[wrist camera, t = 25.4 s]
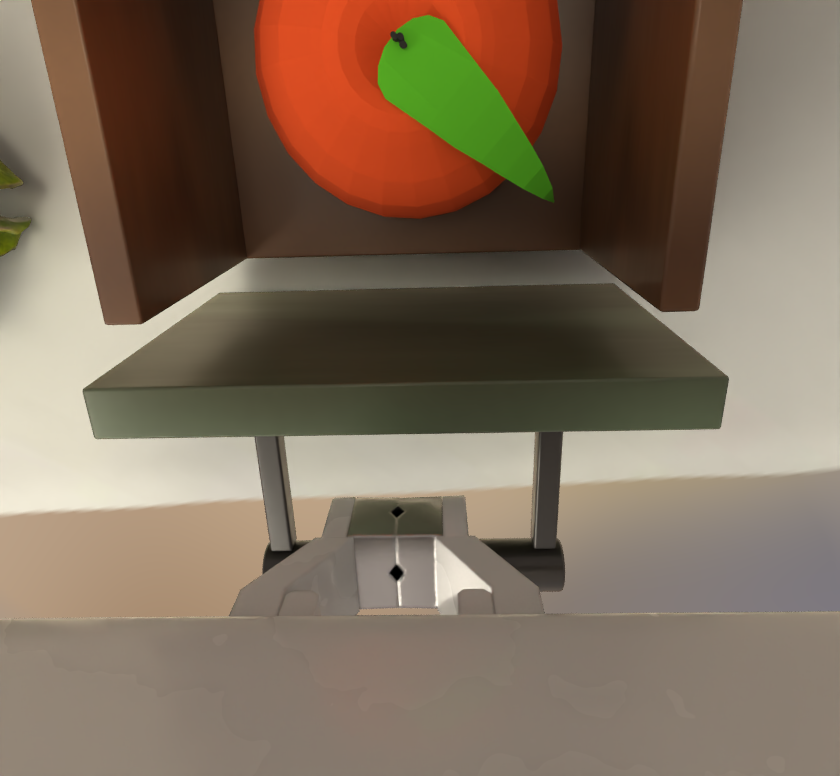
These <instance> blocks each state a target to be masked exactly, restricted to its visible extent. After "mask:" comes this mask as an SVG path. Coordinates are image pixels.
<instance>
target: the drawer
mask: <svg viewBox="0 0 840 776" xmlns="http://www.w3.org/2000/svg"><path fill="white" fill-rule="evenodd" d="M31 2H32V7H33V11H34V16H35V20H36V24H37V29H38V33H39V37H40V42H41V46H42V50H43V55H44V59H45V64H46V68H47V72H48V77H49V81H50V85H51V90H52V94H53V99H54V103H55V107H56V112H57V116H58V120H59V125H60V129H61V133H62V138H63V142H64V147H65V151H66V155H67V160H68V164H69V168H70V173H71V177H72V182H73V186H74V190H75V195H76V199H77V203H78V208H79V212H80V217H81V221H82V225H83V230H84V234H85V238H86V243H87V247H88V251H89V256H90V260H91V265H92V269H93V273H94V278H95V282H96V286H97V291H98V295H99V300H100V304H101V308H102V313H103V317H104V321H105V324H107V325H129V324H143V323H144V322H146V321H148V320H149V319H151V318H152V317H154V316H156V315H157V314H159V313H160V312H162V311H164V310H165V309H167V308H168V307H170V306H172V305H173V304H175V303H176V302H178V301H180V300H181V299H183V298H184V297H186V296H188V295H189V294H191V293H192V292H194V291H196V290H197V289H199V288H200V287H202V286H204V285H205V284H207V283H208V282H210V281H212V280H213V279H215V278H216V277H218V276H220V275H221V274H223V273H224V272H226V271H228V270H229V269H231V268H232V267H234V266H236V265H237V264H239V263H240V262H242V261H244V260H245V259H247V258H284V257H322V256H360V255H398V254H436V253H474V252H512V251H550V250H582V251H583V252H584V253H585V254H587V255H588V256H589V257H591V258H592V259H593V260H595V261H596V262H597V263H598V264H600V265H601V266H602V267H604V268H605V269H606V270H607V271H609V272H610V273H611V274H613V275H614V276H615V277H617V278H618V279H619V280H620V281H622V282H623V283H624V284H626V285H627V286H628V287H630V288H631V289H632V290H633V291H635V292H636V293H637V294H639V295H640V296H641V297H643V298H644V299H645V300H646V301H648V302H649V303H650V304H652V305H653V306H654V307H656V308H657V309H658V310H659V311H662V312H681V311H696V310H698V309H699V306H700V299H701V292H702V285H703V278H704V271H705V264H706V257H707V250H708V243H709V236H710V229H711V222H712V215H713V208H714V201H715V194H716V187H717V180H718V173H719V165H720V158H721V151H722V144H723V137H724V130H725V123H726V116H727V109H728V102H729V95H730V88H731V81H732V74H733V67H734V60H735V53H736V46H737V39H738V32H739V25H740V18H741V11H742V4H743V0H557V3H558V12H559V20H560V29H561V38H562V53H561V61H560V69H559V78H558V86H557V92H556V95H555V97H554V100H553V103H552V105H551V108H550V111H549V114H548V116H547V119H546V122H545V124H544V127H543V130H542V132H541V134H540V136H539V137H538V139H537V140H536V142H535V143H534V145H533V146H532V147H533V149H534V150H535V152H536V154H537V156H538V158H539V159H540V161H541V163H542V165H543V167H544V169H545V171H546V174H547V176H548V178H549V181H550V183H551V186H552V188H553V196H554V203H553V202H550V201H547V200H545V199H542V198H540V197H538V196H536V195H534V194H532V193H530V192H528V191H526V190H524V189H523V188H521V187H519V186H517V185H516V184H514V183H512V182H511V181H509V180H507V179H505V180H504V181H503V182H502V183H501V184H500V185H499V186H497V187H496V188H495V189H494V190H493V191H492V192H491V193H490V194H488V195H486V196H484V197H482V198H481V199H479V200H477V201H475V202H473V203H471V204H469V205H467V206H465V207H463V208H461V209H459V210H457V211H455V212H450V213H446V214H441V215H436V216H432V217H427V218H422V219H414V218H396V217H384V216H381V215H378V214H375V213H372V212H369V211H366V210H363V209H360V208H357V207H354V206H351V205H348V204H346V203H345V202H343V201H341V200H340V199H338V198H337V197H335V196H334V195H332V194H331V193H329V192H328V191H326V190H325V189H323V188H322V187H320V186H319V185H317V184H316V183H315V182H314V181H313V180H312V179H311V178H310V177H309V176H308V175H307V174H306V173H305V171H304V170H303V169H302V168H301V167H300V166H299V165H298V164H297V163H296V162H295V161H294V159H293V158H292V157H291V156H290V155H289V154H288V152H287V151H286V149H285V147H284V145H283V143H282V142H281V140H280V138H279V136H278V134H277V132H276V131H275V129H274V127H273V125H272V123H271V122H270V120H269V118H268V116H267V112H266V108H265V105H264V101H263V98H262V94H261V90H260V87H259V83H258V80H257V76H256V63H255V41H254V26H255V21H256V16H257V11H258V6H259V0H31ZM728 381H729V378H728V376H727V375H726V374H724V373H723V372H722V371H721V370H719V369H718V368H717V367H716V366H714V365H713V364H712V363H711V362H710V361H708V360H707V359H706V358H705V357H703V356H702V355H701V354H700V353H699V352H697V351H696V350H695V349H694V348H692V347H691V346H690V345H689V344H687V343H686V342H685V341H684V340H683V339H681V338H680V337H679V336H678V335H676V334H675V333H674V332H673V331H672V330H670V329H669V328H668V327H667V326H665V325H664V324H663V323H662V322H661V321H659V320H658V319H657V318H656V317H654V316H653V315H652V314H651V313H649V312H648V311H647V310H646V309H645V308H643V307H642V306H641V305H640V304H638V303H637V302H636V301H635V300H634V299H632V298H631V297H630V296H629V295H627V294H626V293H625V292H624V291H622V290H621V289H620V288H619V287H618V286H616V285H615V284H613V283H605V284H564V285H523V286H482V287H441V288H400V289H358V290H317V291H276V292H235V293H219V294H217V295H216V296H214V297H213V298H211V299H210V300H209V301H207V302H206V303H204V304H203V305H202V306H200V307H199V308H197V309H196V310H194V311H193V312H192V313H190V314H189V315H187V316H186V317H185V318H183V319H182V320H180V321H179V322H177V323H176V324H175V325H173V326H172V327H170V328H169V329H168V330H166V331H165V332H163V333H162V334H160V335H159V336H158V337H156V338H155V339H153V340H152V341H151V342H149V343H148V344H146V345H145V346H143V347H142V348H141V349H139V350H138V351H136V352H135V353H133V354H132V355H131V356H129V357H128V358H126V359H125V360H124V361H122V362H121V363H119V364H118V365H116V366H115V367H114V368H112V369H111V370H109V371H108V372H107V373H105V374H104V375H102V376H101V377H99V378H98V379H97V380H95V381H94V382H92V383H91V384H90V385H88V386H87V387H85V388H84V389H83V395H84V399H85V403H86V407H87V411H88V414H89V418H90V422H91V426H92V430H93V434H94V437H95V439H129V438H192V437H254V436H255V443H256V450H257V457H258V464H259V471H260V478H261V485H262V491H263V498H264V505H265V512H266V519H267V525H268V532H269V539H270V542H269V544H268V545H267V548H266V551H265V554H264V559H263V574H264V573H265V572H267V571H268V570H270V569H271V568H273V567H274V566H275V565H277V564H278V563H280V562H281V561H283V560H284V559H286V558H287V557H288V556H290V555H291V554H293V553H294V552H296V551H297V550H299V549H300V548H301V547H303V546H304V545H306V544H307V543H309V542H310V541H312V540H306V541H296V530H295V522H294V515H293V506H292V498H291V490H290V482H289V474H288V466H287V459H286V451H285V443H284V436H317V435H380V434H442V433H505V432H535V448H534V471H533V494H532V495H533V496H532V518H531V538H512V539H509V538H507V539H506V538H505V539H479V540H480V541H482V542H483V543H484V544H485V545H487V546H488V547H489V548H490V549H492V550H493V551H494V552H495V553H497V554H498V555H499V556H500V557H502V558H503V559H504V560H505V561H507V562H508V563H509V564H510V565H512V566H513V567H514V568H515V569H516V570H518V571H519V572H520V573H521V574H523V575H524V576H525V577H526V578H528V579H529V580H530V581H531V582H533V583H534V584H535V585H536V586H538V587H539V591H540V592H553V591H554V592H556V591H557V592H559V591H562V590H563V587H564V582H565V563H564V554H563V550H562V545H561V542H560V540H559V539H557V538H556V535H557V520H558V504H559V488H560V472H561V456H562V440H563V432H567V431H630V430H693V429H720V427H721V423H722V417H723V411H724V405H725V399H726V393H727V387H728Z"/></svg>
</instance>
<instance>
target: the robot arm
mask: <svg viewBox="0 0 840 776" xmlns="http://www.w3.org/2000/svg"><path fill="white" fill-rule="evenodd" d="M442 520H443V523H442ZM374 608H376V609H377V608H438V611H439V613H440V614H441V615H357V613H358V612H359V609H374ZM0 776H840V611H828V612H826V611H822V612H821V611H819V612H711V613H710V612H707V613H706V612H705V613H704V612H703V613H702V612H701V613H700V612H699V613H588V614H587V613H586V614H585V613H584V614H582V613H581V614H545V612H544V608H543V604H542V600H541V595H540V591H539V587H538V586H536V585H535V584H534V583H533V582H531V581H530V580H529V579H528V578H526V577H525V576H524V575H523V574H521V573H520V572H519V571H518V570H516V569H515V568H514V567H513V566H512V565H510V564H509V563H508V562H507V561H505V560H504V559H503V558H502V557H500V556H499V555H498V554H497V553H495V552H494V551H493V550H492V549H490V548H489V547H488V546H487V545H485V544H484V543H483V542H482V541H480V540H479V539H478V538H477V537H475V536H469V535H468V524H467V513H466V502H465V497H464V495H462V496H445V497H417V498H364V497H357V498H355V497H344V498H334V499H333V500H332V503H331V506H330V510H329V513H328V517H327V520H326V524H325V527H324V531H323V534H322V537H321V538H315V539H313V540H312V541H310V542H309V543H307V544H306V545H304V546H303V547H301V548H300V549H299V550H297V551H296V552H294V553H293V554H291V555H290V556H288V557H287V558H286V559H284V560H283V561H281V562H280V563H278V564H277V565H275V566H274V567H273V568H271V569H270V570H268V571H267V572H265V573H264V574H262V575H261V576H260V577H258V578H257V579H256V580H254V581H252V582H251V583H249V584H248V585H247V586H245V587H244V588H242V589H241V590H240V592H239V594H238V597H237V599H236V601H235V603H234V605H233V608H232V610H231V612H230V615H229V617H124V618H123V617H120V618H10V619H9V618H0Z"/></svg>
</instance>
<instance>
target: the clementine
mask: <svg viewBox="0 0 840 776" xmlns="http://www.w3.org/2000/svg"><path fill="white" fill-rule="evenodd" d="M254 41H255V63H256V76H257V80H258V83H259V87H260V90H261V94H262V98H263V101H264V105H265V108H266V112H267V116H268V118H269V120H270V122H271V123H272V125H273V127H274V129H275V131H276V132H277V134H278V136H279V138H280V140H281V142H282V143H283V145H284V147H285V149H286V151H287V152H288V154H289V155H290V156H291V157H292V158H293V159H294V161H295V162H296V163H297V164H298V165H299V166H300V167H301V168H302V169H303V170H304V171H305V173H306V174H307V175H308V176H309V177H310V178H311V179H312V180H313V181H314V182H315V183H316V184H317V185H319V186H320V187H322V188H323V189H325V190H326V191H328V192H329V193H331V194H332V195H334V196H335V197H337V198H338V199H340V200H341V201H343V202H345V203H346V204H348V205H351V206H354V207H357V208H360V209H363V210H366V211H369V212H372V213H375V214H378V215H381V216H384V217H396V218H414V219H422V218H427V217H432V216H436V215H441V214H446V213H450V212H455V211H457V210H459V209H461V208H463V207H465V206H467V205H469V204H471V203H473V202H475V201H477V200H479V199H481V198H482V197H484V196H486V195H488V194H490V193H491V192H492V191H493V190H494V189H495V188H496V187H497V186H499V185H500V184H501V183H502V182H503V181H504V180H505V179H507V180H509V181H511V182H512V183H514V184H516V185H517V186H519V187H521V188H523V189H524V190H526V191H528V192H530V193H532V194H534V195H536V196H538V197H540V198H542V199H545V200H547V201H550V202H553V203H554V196H553V188H552V186H551V183H550V181H549V178H548V176H547V174H546V171H545V169H544V167H543V165H542V163H541V161H540V159H539V158H538V156H537V154H536V152H535V150H534V149H533V147H532V146H533V145H534V143H535V142H536V140H537V139H538V137H539V136H540V134H541V132H542V130H543V127H544V124H545V122H546V119H547V116H548V114H549V111H550V108H551V105H552V103H553V100H554V97H555V95H556V92H557V86H558V78H559V69H560V61H561V53H562V38H561V29H560V20H559V12H558V3H557V0H259V6H258V11H257V16H256V21H255V26H254Z"/></svg>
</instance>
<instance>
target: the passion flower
mask: <svg viewBox="0 0 840 776" xmlns="http://www.w3.org/2000/svg"><path fill="white" fill-rule="evenodd" d="M22 184H23V181H22V180H21V179H20V178H19V177H17V176H16V175H15V174H14V173H13V172H12V171H11V170H10V169H9V168H8V167H7V166H6V165H4V164H3V163H2V162H1V161H0V189H6V188H11V189H13V188H15V187H17V186H21V185H22ZM30 222H31V218H29V217H14V218H6V217H3V216H0V256H3V255H5V254H6V253H8V252H10V251H11V250H15V248H16V246H17V244H18V241H19V238H20V236H21V233H22V232H23V231H24V230H25V229H26V228H28V227H29V225H30Z"/></svg>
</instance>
